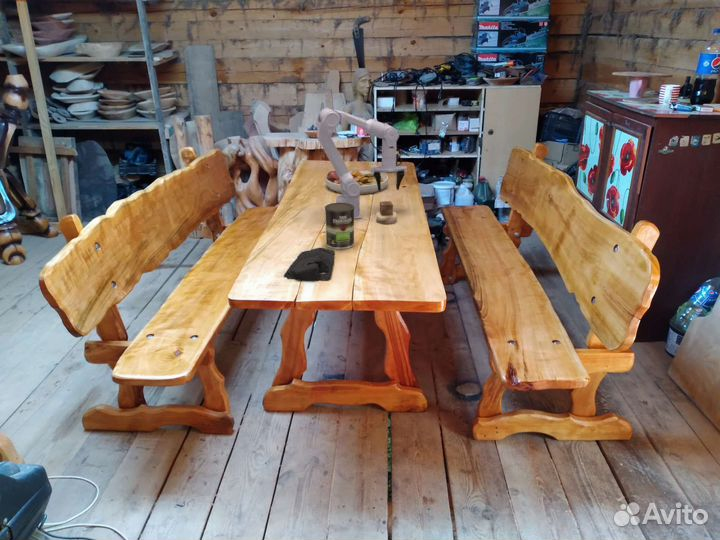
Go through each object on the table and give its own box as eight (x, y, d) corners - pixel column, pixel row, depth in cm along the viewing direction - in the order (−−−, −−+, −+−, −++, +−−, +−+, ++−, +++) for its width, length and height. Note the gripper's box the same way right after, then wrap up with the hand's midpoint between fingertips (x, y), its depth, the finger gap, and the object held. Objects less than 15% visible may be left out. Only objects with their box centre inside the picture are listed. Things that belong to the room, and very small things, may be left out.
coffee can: (357, 247, 196) (357, 209, 190) (329, 250, 193) (328, 212, 187) (350, 237, 205) (350, 201, 199) (323, 240, 202) (322, 203, 196)
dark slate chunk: (342, 256, 190) (342, 243, 188) (329, 284, 170) (328, 270, 168) (298, 253, 192) (298, 241, 190) (280, 280, 172) (280, 267, 170)
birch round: (377, 225, 218) (377, 216, 216) (375, 218, 225) (375, 210, 223) (397, 225, 218) (397, 216, 216) (395, 218, 225) (395, 210, 224)
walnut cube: (381, 216, 217) (381, 205, 215) (379, 212, 221) (379, 201, 219) (392, 215, 218) (393, 204, 216) (390, 211, 222) (390, 201, 220)
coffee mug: (379, 170, 296) (380, 151, 292) (394, 168, 299) (395, 150, 294) (387, 175, 286) (387, 156, 282) (402, 174, 288) (403, 154, 284)
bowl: (387, 179, 280) (387, 163, 277) (388, 196, 253) (389, 179, 250) (328, 179, 281) (327, 164, 278) (323, 196, 254) (323, 179, 250)
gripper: (372, 159, 217) (372, 193, 222) (409, 158, 219) (407, 191, 224) (369, 155, 223) (369, 188, 229) (405, 154, 225) (404, 186, 231)
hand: (388, 189), depth 227 cm, fingers open, 7 cm apart
